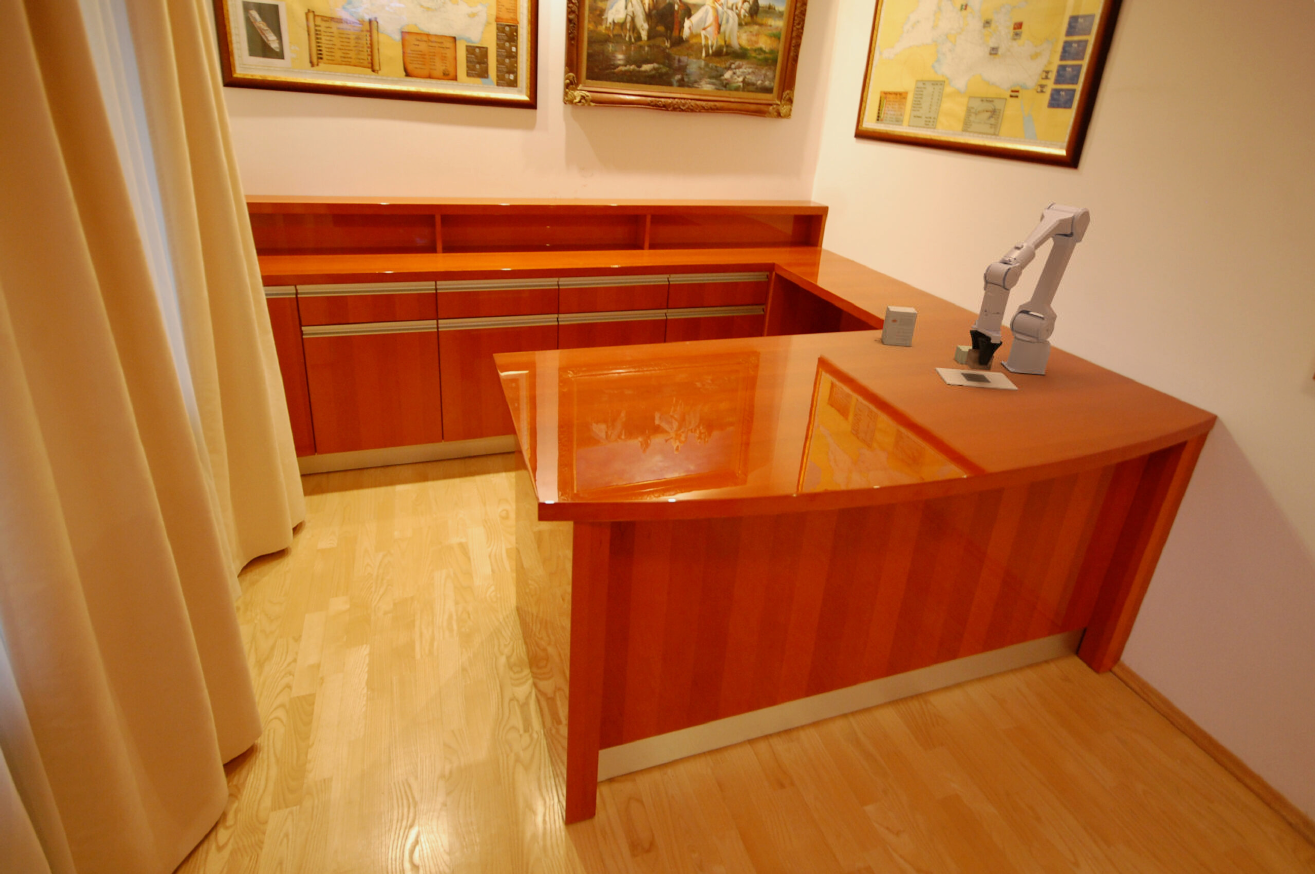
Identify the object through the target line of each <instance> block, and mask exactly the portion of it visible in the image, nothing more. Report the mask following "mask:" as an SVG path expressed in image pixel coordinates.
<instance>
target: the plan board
mask: <svg viewBox="0 0 1315 874" xmlns="http://www.w3.org/2000/svg"><path fill="white" fill-rule="evenodd" d="M934 370H935V371H936V373H938V375H939V376H940V378H941V379H942V380H943V382H944V383H945V382H946V383H945V384H946V385H947V384H950V385H949V386H958V385H963V386H962V387H972V388H973V387H974V388H984V389H985V388H986V389H995V390H996V389H998V390H1009V391H1018V390H1019V388H1018V387H1017V386H1016V385H1015V384H1014V383H1013V382H1012V381H1011V380H1010V379H1009V378H1008V377H1007V376H1006V375H1005V374H1004V373H1003V372H994V371H993V372H992V371H985V370H972V369H956V368H943V367H942V368H941V367H935V368H934Z"/></svg>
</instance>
